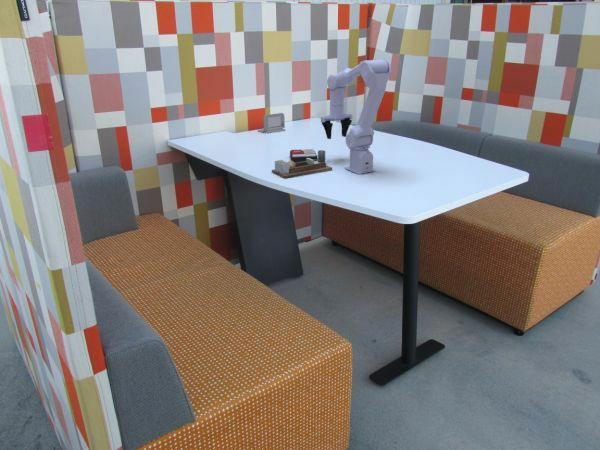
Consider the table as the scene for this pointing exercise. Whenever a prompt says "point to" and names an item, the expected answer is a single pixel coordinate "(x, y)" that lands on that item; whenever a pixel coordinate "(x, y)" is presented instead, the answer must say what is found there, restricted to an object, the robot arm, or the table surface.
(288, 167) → the anvil
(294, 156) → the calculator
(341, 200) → the table surface
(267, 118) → the handheld gaming console
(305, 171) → the base
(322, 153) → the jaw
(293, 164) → the ball
